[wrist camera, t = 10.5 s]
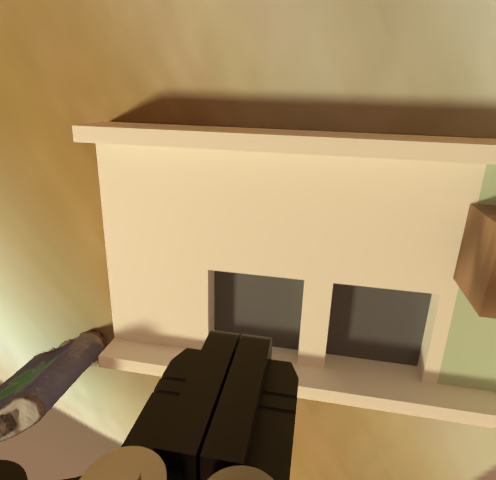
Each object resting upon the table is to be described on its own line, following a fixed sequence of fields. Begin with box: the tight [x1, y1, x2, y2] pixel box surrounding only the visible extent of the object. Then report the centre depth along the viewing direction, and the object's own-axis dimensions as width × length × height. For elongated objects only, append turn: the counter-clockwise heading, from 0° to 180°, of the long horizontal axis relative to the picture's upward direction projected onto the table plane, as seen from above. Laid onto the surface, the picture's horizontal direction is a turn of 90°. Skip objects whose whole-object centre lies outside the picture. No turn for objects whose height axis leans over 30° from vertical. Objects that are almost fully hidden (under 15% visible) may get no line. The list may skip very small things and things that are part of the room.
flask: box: [0, 331, 106, 442], centre depth 33 cm, size 9×3×11 cm, turn 120°
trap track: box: [72, 122, 496, 428], centre depth 28 cm, size 18×32×4 cm, turn 88°
